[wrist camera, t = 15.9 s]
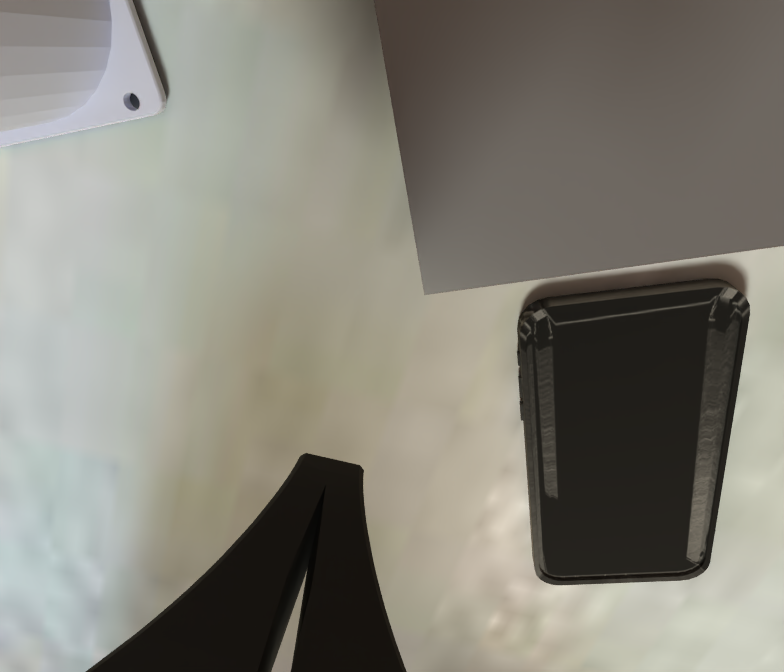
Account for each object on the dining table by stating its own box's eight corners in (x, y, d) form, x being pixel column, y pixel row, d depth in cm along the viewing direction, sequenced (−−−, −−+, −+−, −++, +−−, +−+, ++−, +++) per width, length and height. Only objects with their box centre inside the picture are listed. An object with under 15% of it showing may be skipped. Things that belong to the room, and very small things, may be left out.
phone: (754, 282, 18) (707, 580, 24) (738, 270, 19) (697, 559, 25) (514, 310, 19) (533, 587, 26) (511, 297, 20) (530, 567, 27)
